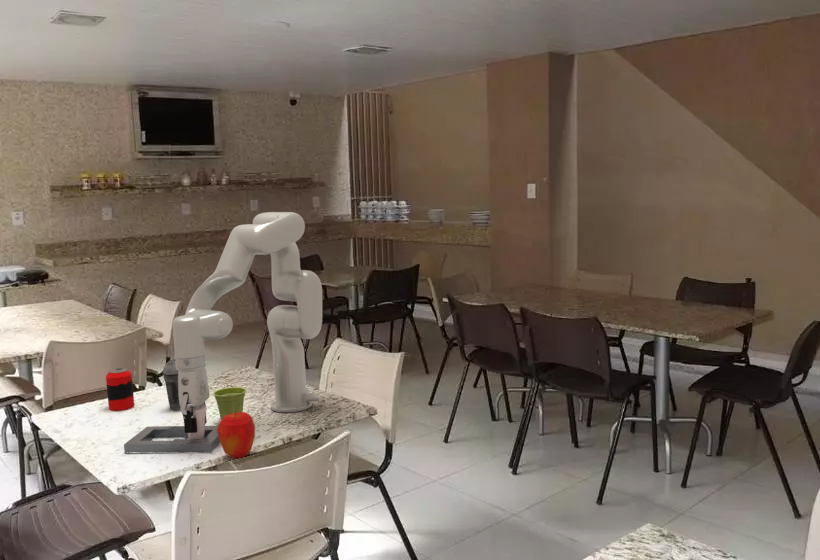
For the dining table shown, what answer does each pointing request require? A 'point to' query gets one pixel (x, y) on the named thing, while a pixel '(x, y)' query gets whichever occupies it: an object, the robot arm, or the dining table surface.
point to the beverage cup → (172, 383)
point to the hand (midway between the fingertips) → (195, 427)
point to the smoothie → (199, 422)
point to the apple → (236, 434)
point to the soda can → (120, 389)
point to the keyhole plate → (145, 444)
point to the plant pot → (229, 400)
